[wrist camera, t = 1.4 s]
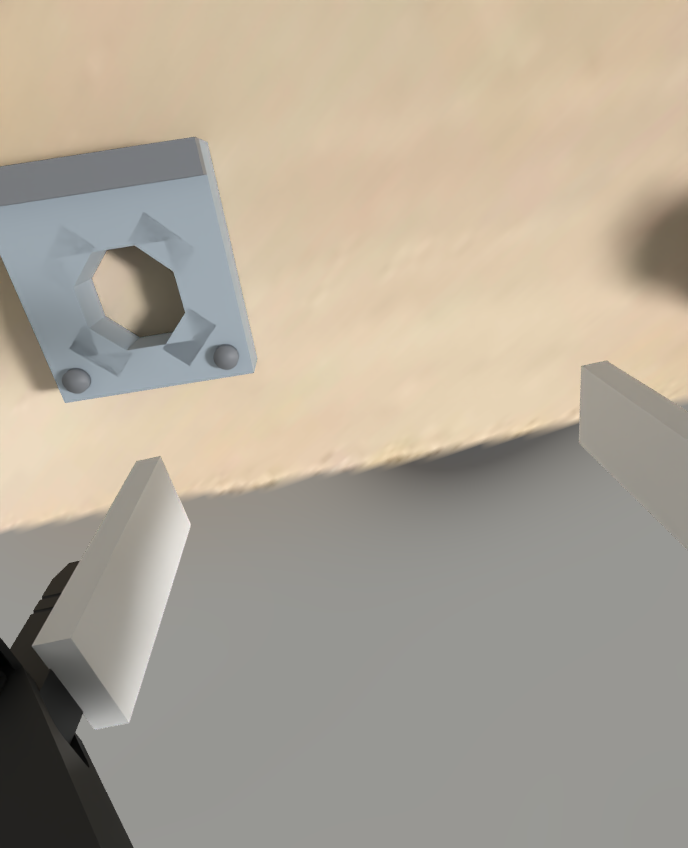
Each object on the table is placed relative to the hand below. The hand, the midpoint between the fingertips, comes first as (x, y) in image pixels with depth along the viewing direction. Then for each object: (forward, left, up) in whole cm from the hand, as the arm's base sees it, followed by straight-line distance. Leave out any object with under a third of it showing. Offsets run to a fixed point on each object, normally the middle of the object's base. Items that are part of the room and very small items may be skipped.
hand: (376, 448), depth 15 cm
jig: (-3, -13, -22) cm, 25 cm away
